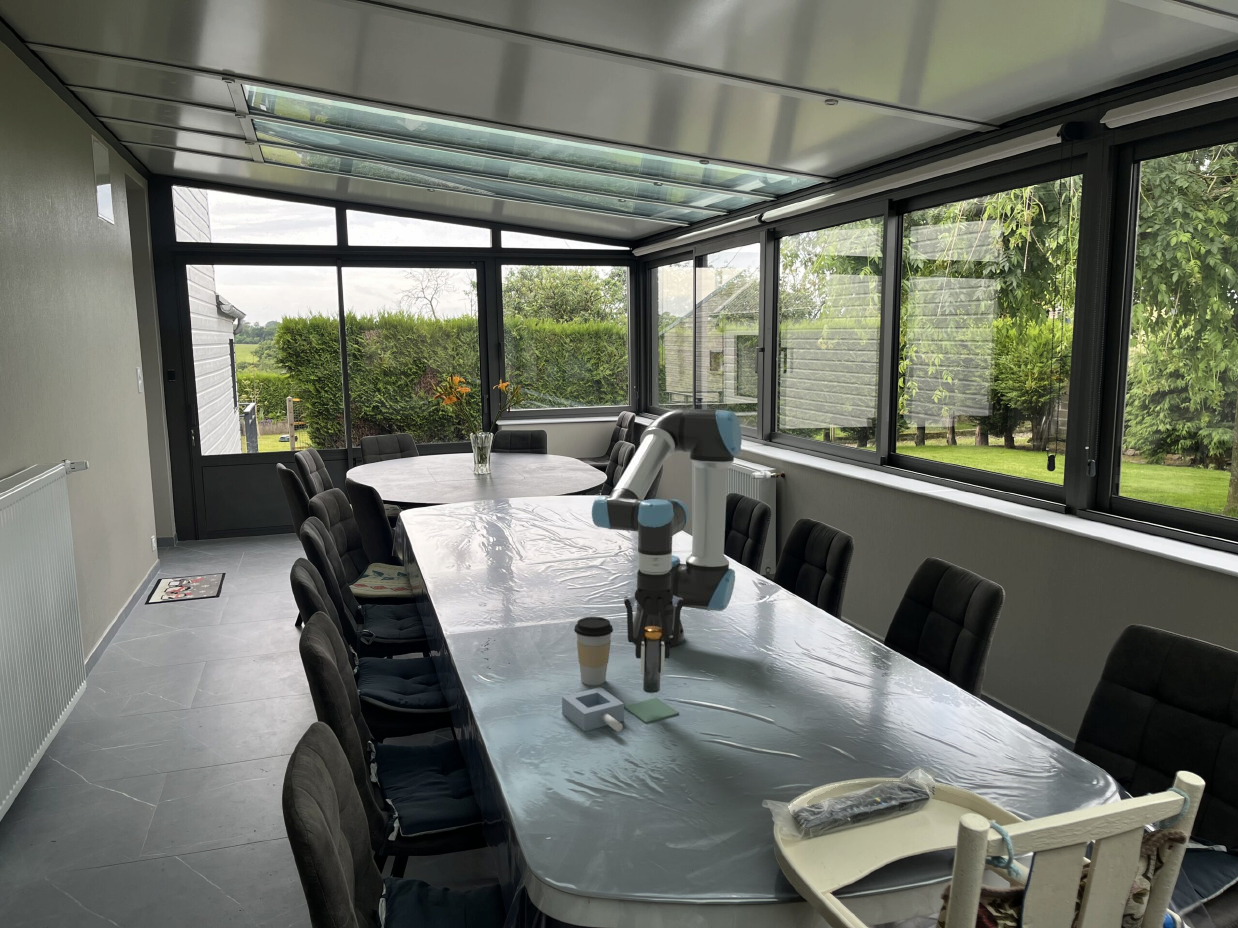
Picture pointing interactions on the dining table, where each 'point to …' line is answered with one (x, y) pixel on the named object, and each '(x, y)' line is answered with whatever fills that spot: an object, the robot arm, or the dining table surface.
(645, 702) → the pad
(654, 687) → the orange capped tube
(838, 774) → the dining table surface
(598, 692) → the block
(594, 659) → the coffee cup
